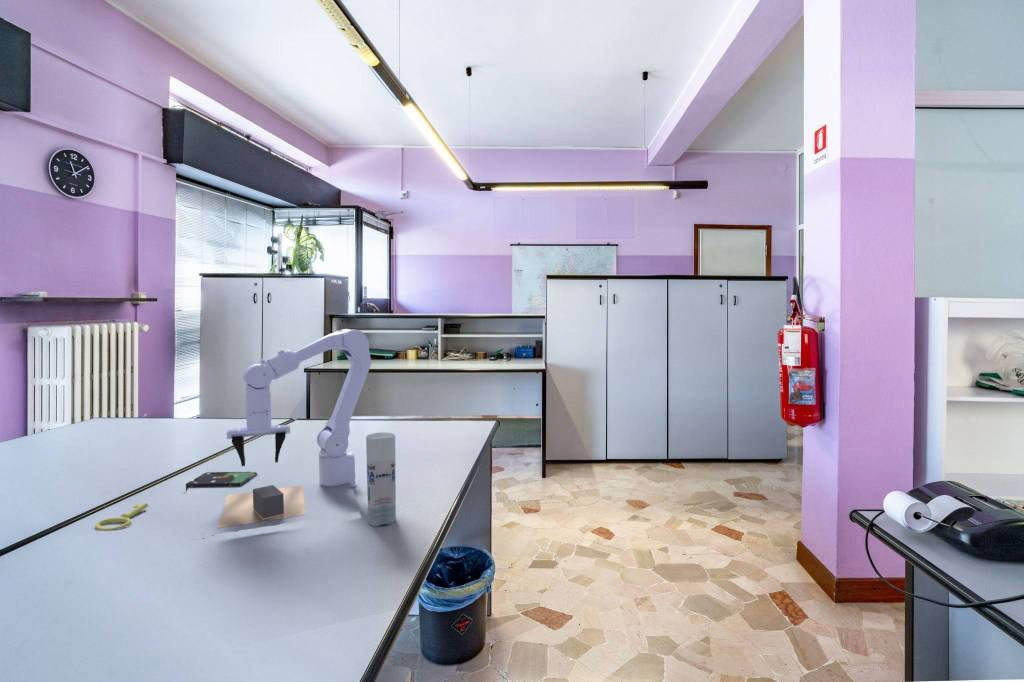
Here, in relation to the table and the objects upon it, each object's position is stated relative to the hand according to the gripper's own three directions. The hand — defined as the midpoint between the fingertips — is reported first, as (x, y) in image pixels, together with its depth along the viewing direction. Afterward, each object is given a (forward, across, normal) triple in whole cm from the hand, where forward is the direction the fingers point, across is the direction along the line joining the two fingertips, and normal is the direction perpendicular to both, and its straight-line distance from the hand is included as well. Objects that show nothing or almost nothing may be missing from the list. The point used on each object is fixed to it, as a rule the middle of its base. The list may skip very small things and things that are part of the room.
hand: (260, 463), depth 132 cm
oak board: (+9, -1, +8) cm, 12 cm away
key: (+10, +29, +2) cm, 30 cm away
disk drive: (+10, +10, -17) cm, 22 cm away
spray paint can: (+10, -26, +27) cm, 39 cm away
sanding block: (+8, -2, +14) cm, 16 cm away
